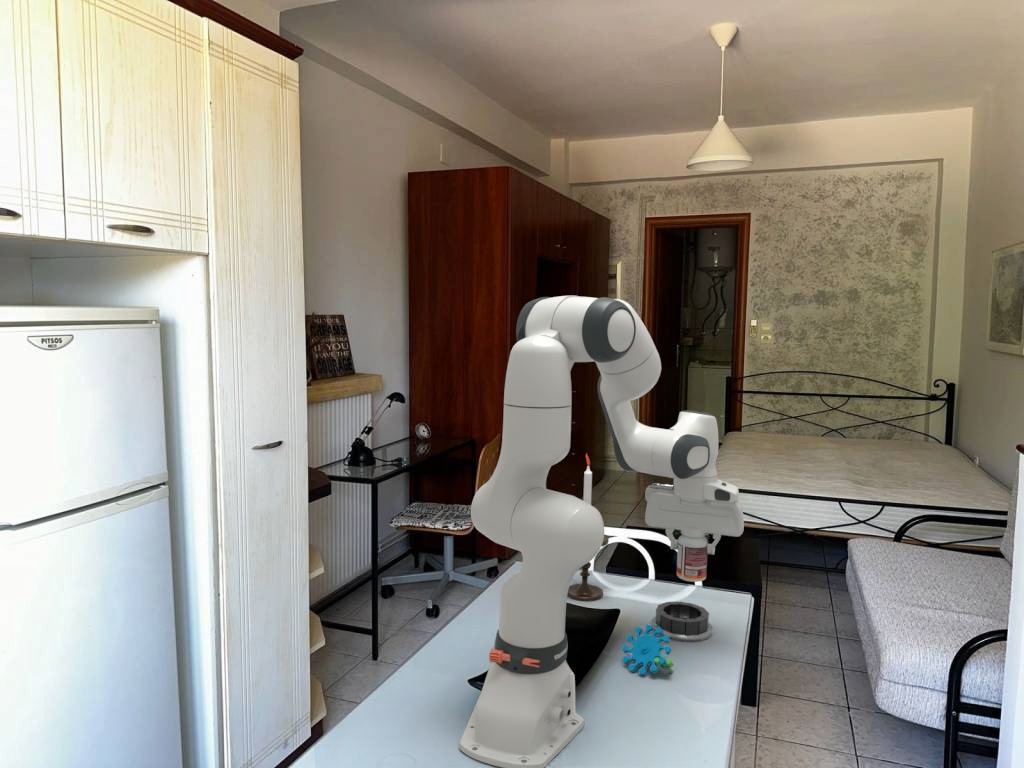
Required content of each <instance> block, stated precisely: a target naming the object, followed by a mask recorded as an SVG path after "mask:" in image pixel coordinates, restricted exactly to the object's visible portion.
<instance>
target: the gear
mask: <svg viewBox="0 0 1024 768" xmlns="http://www.w3.org/2000/svg"><path fill="white" fill-rule="evenodd" d="M651 625H652V624H649V623H647V624H646V625H645V631H644V632H643V629H642V627H641V626H637V627H635V628H634V632H635V634H636V638H634V636H633V635H632V634H631V633H629V634H628V635H627V636H625V639H626V641H627V642H629V643H630V644H631V646H632V647H631V648H629V646H628V645H627V644H623V645H622V647H621V650H620V651H622V652H623V653H624V654H627V653H629V654H632V655H631V656H630V657H629V656H628V655H624V656H622V662H623V663H624V664H625V665H628V664H629V663H631V662H635V663H633V664H632V663H631V664H629V665H628V669H629V671H631V672H632V673H633V672H634V673H636V671H638V674H640V675H641V676H646V675H647V674H648V673H647V670H648V667H649V666H650V665H651V666H650V667H649V671H650V672H651V673H652V674H655V673H658V672H659V668H658V667H657V666H659V667H661V668H662V669H663V670H664V671H668V672H669V673H670V674H673V673H674V670H673V668H672V667H674V665H675V664H674V662H673V660H672V659H671V658H665V657H664V656H662V654H661V651H664V652H665V654H666V655H671V653H672V650H673V649H672V647H671V646H669V645H661V643H662V642H664V644H669V643H670V642H671V641H670V640H671V639H669V636H668V635H664V636H663V637H662V636H660V635H662V634H663V633H664V632H663V630H662V629H661V628H660V627H657V628H656V630H655V631H653V629H654V628H653V627H652V626H651ZM651 632H652V633H651ZM642 633H643V634H642ZM657 636H660V637H657ZM634 639H635V640H634ZM640 666H641V667H640ZM639 667H640V668H639ZM638 668H639V669H638Z"/></svg>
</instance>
